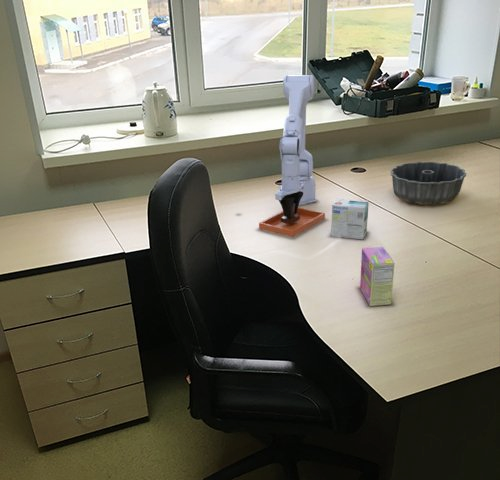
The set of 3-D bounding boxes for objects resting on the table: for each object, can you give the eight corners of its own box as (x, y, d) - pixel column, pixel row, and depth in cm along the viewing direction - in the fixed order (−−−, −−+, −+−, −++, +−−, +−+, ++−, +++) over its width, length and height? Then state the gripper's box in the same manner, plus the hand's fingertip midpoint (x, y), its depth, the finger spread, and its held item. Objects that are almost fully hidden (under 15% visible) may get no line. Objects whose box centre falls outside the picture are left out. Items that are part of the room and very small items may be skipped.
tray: (292, 212, 209) (292, 205, 207) (324, 220, 201) (325, 213, 200) (259, 230, 195) (258, 222, 194) (292, 238, 188) (292, 231, 187)
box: (359, 288, 158) (361, 247, 151) (379, 286, 158) (383, 246, 152) (368, 306, 149) (372, 264, 143) (391, 305, 149) (395, 262, 143)
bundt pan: (381, 206, 211) (384, 178, 206) (395, 184, 232) (397, 158, 226) (458, 213, 202) (462, 185, 197) (465, 190, 223) (469, 163, 217)
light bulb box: (367, 232, 191) (369, 200, 185) (363, 240, 185) (366, 207, 180) (334, 229, 194) (336, 197, 188) (330, 236, 188) (331, 204, 183)
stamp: (290, 217, 201) (290, 199, 197) (300, 219, 199) (300, 201, 195) (280, 222, 197) (280, 204, 194) (290, 224, 195) (290, 206, 192)
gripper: (292, 167, 197) (292, 206, 204) (267, 178, 187) (268, 219, 194) (310, 170, 193) (309, 210, 200) (285, 182, 183) (285, 223, 190)
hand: (290, 214), depth 197 cm, fingers closed on stamp, 3 cm apart
